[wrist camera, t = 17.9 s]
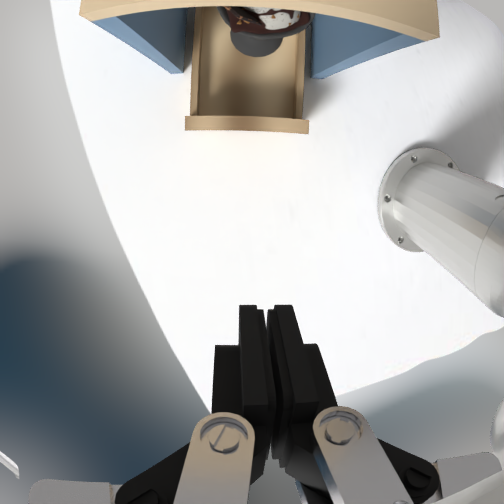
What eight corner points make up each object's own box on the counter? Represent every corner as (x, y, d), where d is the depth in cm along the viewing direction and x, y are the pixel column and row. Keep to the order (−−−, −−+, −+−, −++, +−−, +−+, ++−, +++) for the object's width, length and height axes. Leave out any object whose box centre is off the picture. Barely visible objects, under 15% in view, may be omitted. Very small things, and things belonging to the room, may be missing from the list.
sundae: (286, 3, 22) (328, -75, 9) (295, 63, 25) (350, 17, 11) (218, 8, 22) (205, -74, 9) (225, 68, 25) (216, 20, 11)
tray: (300, 4, 23) (312, -14, 18) (296, 131, 29) (308, 134, 24) (199, 0, 22) (193, -20, 18) (193, 128, 28) (185, 130, 23)
